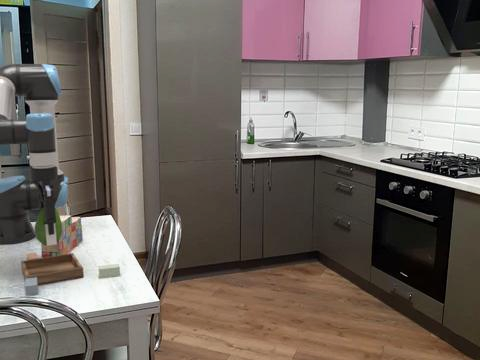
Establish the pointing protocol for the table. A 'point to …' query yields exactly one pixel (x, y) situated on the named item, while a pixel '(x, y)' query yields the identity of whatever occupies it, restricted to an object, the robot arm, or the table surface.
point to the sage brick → (109, 271)
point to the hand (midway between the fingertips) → (49, 240)
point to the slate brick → (31, 286)
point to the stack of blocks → (65, 237)
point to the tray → (53, 269)
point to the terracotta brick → (32, 256)
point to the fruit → (41, 230)
